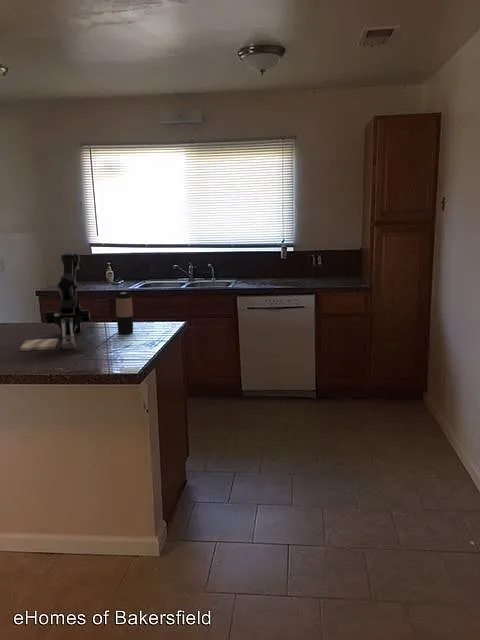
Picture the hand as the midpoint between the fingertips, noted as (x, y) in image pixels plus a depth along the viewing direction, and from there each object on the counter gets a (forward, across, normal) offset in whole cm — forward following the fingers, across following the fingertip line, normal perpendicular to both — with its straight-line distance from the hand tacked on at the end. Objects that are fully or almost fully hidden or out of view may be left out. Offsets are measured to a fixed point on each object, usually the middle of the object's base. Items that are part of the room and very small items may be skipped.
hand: (67, 332), depth 228 cm
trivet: (0, -13, +10) cm, 16 cm away
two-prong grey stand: (+4, 0, +6) cm, 7 cm away
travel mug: (-10, +25, +20) cm, 34 cm away
